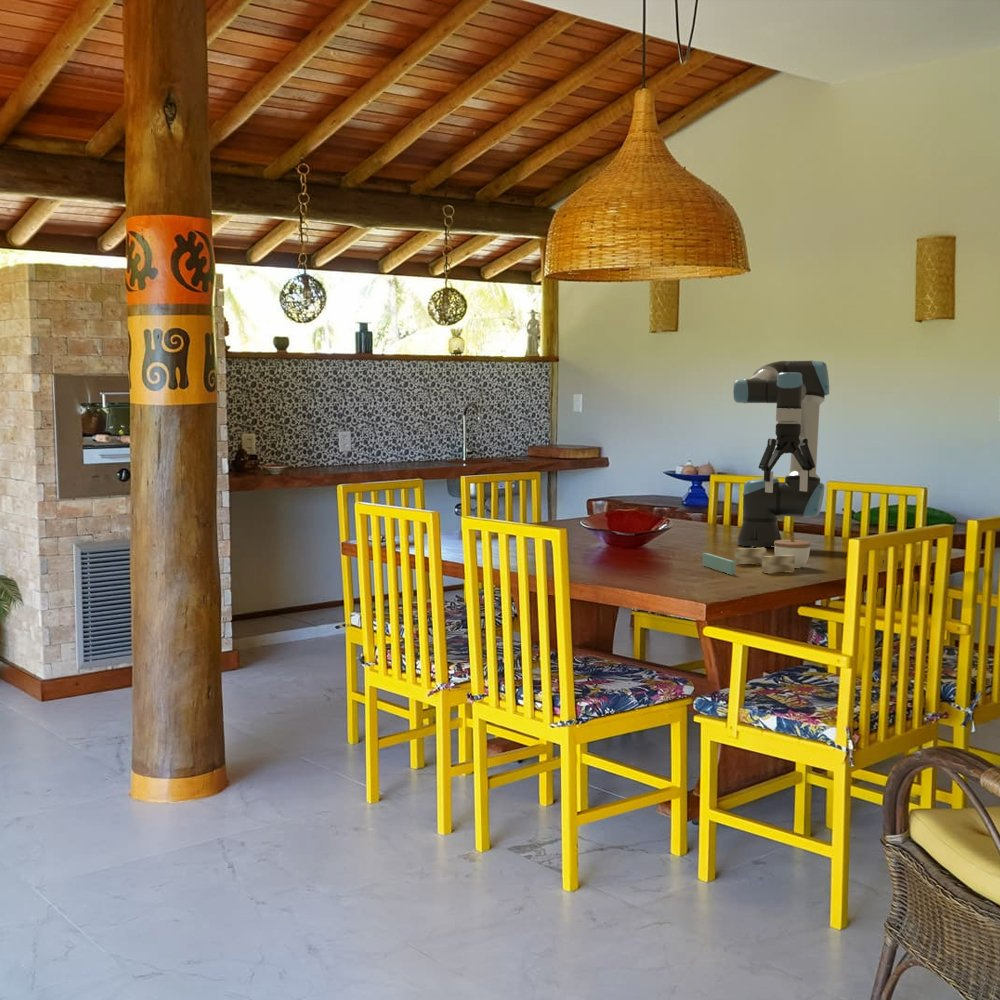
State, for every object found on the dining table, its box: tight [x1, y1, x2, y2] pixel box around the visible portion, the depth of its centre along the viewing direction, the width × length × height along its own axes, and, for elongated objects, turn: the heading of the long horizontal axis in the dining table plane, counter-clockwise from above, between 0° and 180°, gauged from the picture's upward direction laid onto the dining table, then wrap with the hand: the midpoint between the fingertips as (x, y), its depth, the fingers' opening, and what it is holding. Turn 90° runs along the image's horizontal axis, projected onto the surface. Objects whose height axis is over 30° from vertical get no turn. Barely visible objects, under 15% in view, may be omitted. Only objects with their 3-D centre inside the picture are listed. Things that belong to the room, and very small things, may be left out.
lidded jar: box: [774, 536, 811, 568], centre depth 355 cm, size 11×11×9 cm
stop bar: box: [701, 552, 736, 576], centre depth 348 cm, size 2×18×4 cm, turn 17°
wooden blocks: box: [734, 547, 795, 574], centre depth 352 cm, size 10×18×5 cm, turn 17°
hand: (786, 491), depth 360 cm, fingers open, 13 cm apart
